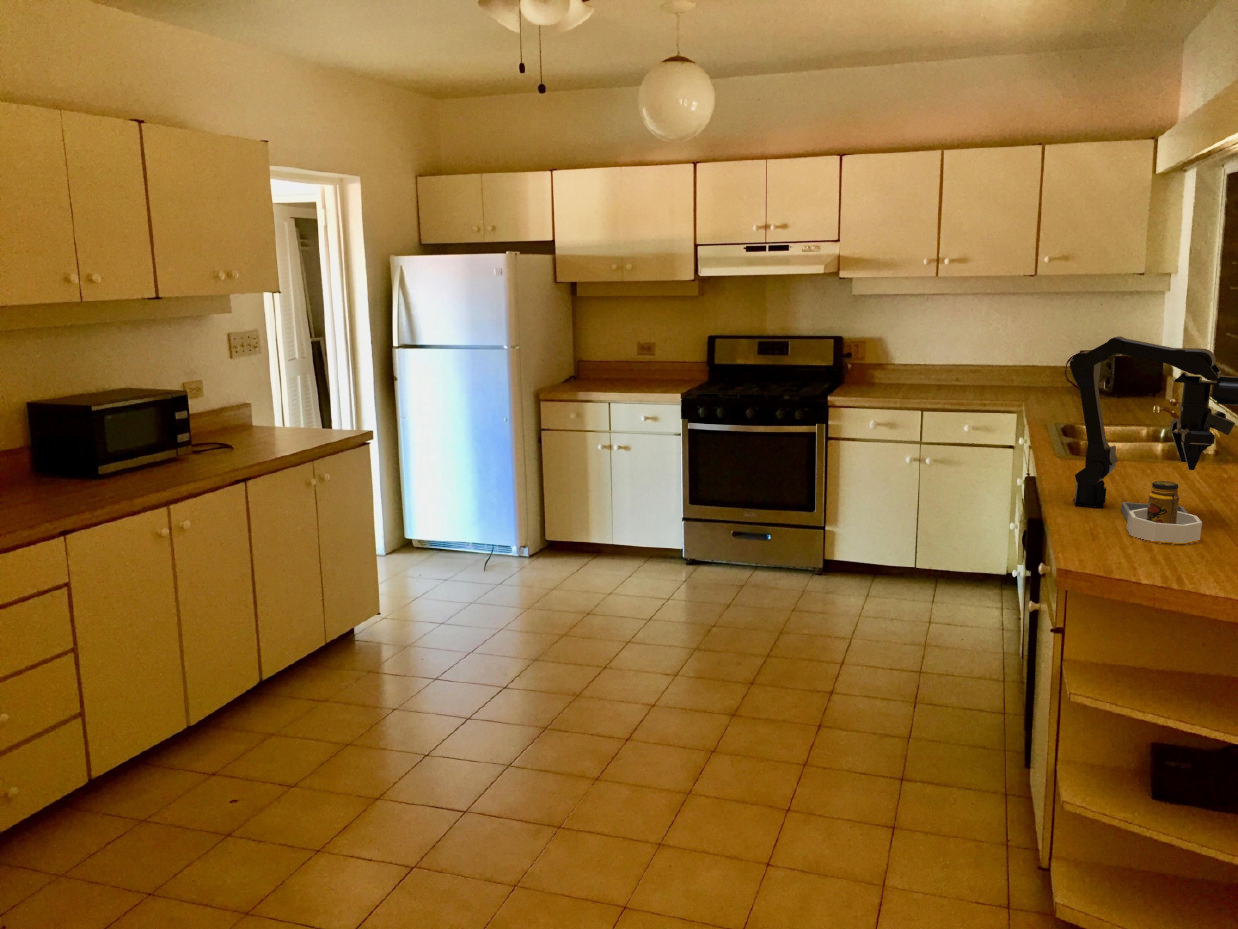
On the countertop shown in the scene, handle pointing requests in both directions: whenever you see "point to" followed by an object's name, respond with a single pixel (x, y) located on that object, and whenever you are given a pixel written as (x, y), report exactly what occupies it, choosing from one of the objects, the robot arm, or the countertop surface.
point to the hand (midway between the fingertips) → (1187, 465)
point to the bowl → (1164, 527)
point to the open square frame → (1134, 506)
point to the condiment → (1163, 502)
